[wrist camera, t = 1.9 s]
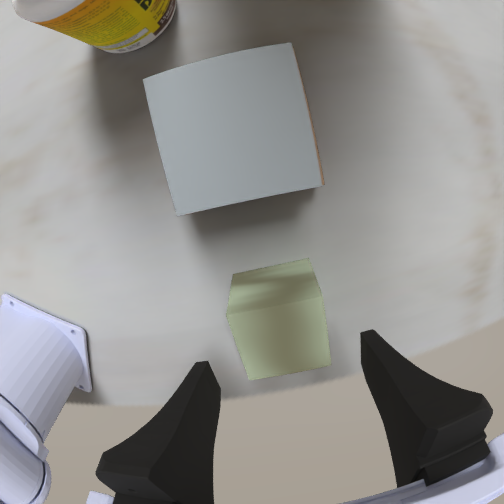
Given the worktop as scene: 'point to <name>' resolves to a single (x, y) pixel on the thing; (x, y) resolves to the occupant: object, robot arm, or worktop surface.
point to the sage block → (279, 320)
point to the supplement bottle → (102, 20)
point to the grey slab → (233, 128)
